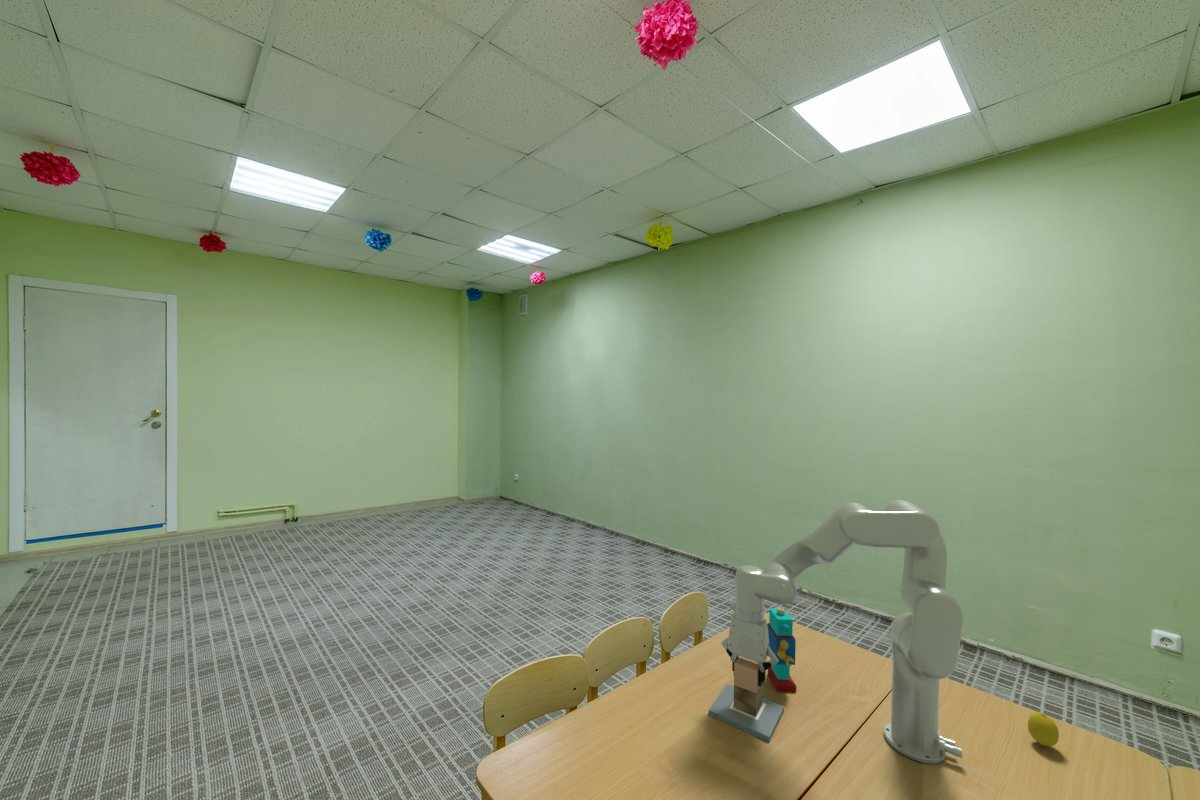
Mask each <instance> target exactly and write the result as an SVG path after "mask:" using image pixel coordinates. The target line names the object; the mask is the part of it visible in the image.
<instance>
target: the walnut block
mask: <svg viewBox="0 0 1200 800" xmlns="http://www.w3.org/2000/svg"><path fill="white" fill-rule="evenodd" d="M733 686H734V707H733V708H736V709H738V710H740V711H743V712H745V713H748V714H750V715H752V716H755V717H756V716H757V714H758V712H759V710H760V708H761V706H762V704H763V698H764V697H763V695H764V691H763V688H764V683H762V685H761V686H760V688H759V690H758V692H757V693H754V692H751V691H749V690H746V689H743V688H741V687H738V686H736V685H734V684H733Z"/></svg>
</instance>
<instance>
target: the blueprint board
mask: <svg viewBox="0 0 1200 800" xmlns="http://www.w3.org/2000/svg"><path fill="white" fill-rule="evenodd" d="M733 707H734V685H732V684H729V683H727V684H726V685H725V686H724V687H723V689H722V690H721V692H720V693H719V695H718V696H717V697H716V699H715V700H714V702H713V703H712V704H711V706H710V707H709V709H708V711H707V712H708V714H707V715H709V716H711V717H713V718H715V719H718V720H720V721H721V722H724V723H726V724H728V725H731V726H733V727H735V728H738V729H739V730H742V731H745V732H747V733H749V734H751V735H753V736H756V737H757V738H760V739H762V740H764V741H767V742H771V740H772V737H773V735H774V733H775V731H776V729H777V727H778V724H780V721H781V719H782V716H783V715H784V713H785V706H784V705H782V704H779V703H778V702H777V703H776V702H774V701H772V700H769V699H766V698H764V697H763V704H762V706H761V708H760V710H759V712H758V714H757V716H756V717H755V716H752V715H750V714H748V713H745V712H743V711H740V710H738V709H736V708H733Z"/></svg>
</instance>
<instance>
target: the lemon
mask: <svg viewBox="0 0 1200 800" xmlns="http://www.w3.org/2000/svg"><path fill="white" fill-rule="evenodd" d="M1027 729H1028V732H1029V734H1030V736H1031V738H1033V740H1034V741H1036V742H1037V743H1039V744H1040V746H1041V747H1054V746H1055V745H1056V744H1057V743H1058V742H1059V739H1060V733H1059V728H1058V726H1057V723H1055V721H1054V720H1053V719H1052V718H1051V717H1050V716H1048V715H1046V713H1043V712H1041V713H1039V712H1035V713H1032V714H1030V716H1029V718H1028V721H1027Z"/></svg>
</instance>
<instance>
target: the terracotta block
mask: <svg viewBox="0 0 1200 800" xmlns="http://www.w3.org/2000/svg"><path fill="white" fill-rule="evenodd" d="M758 671H759V665H758V662H756V661H753V660H750V659H747V658H744V657H741V656H738V658H737V660H736V661H735V662H734V671H733V686H734V685H736V686H738V687H741V688H743V689H746V690H749V691H751V692H754V693H757V692H758V690H759V688H760V686H758Z"/></svg>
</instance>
